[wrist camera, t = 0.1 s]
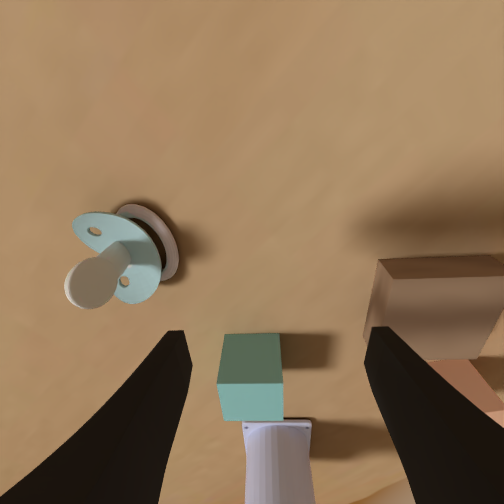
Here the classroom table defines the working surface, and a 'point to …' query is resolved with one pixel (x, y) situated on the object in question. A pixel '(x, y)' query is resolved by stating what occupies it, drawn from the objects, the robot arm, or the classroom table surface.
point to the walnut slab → (438, 303)
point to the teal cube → (251, 378)
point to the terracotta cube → (471, 386)
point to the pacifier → (120, 258)
